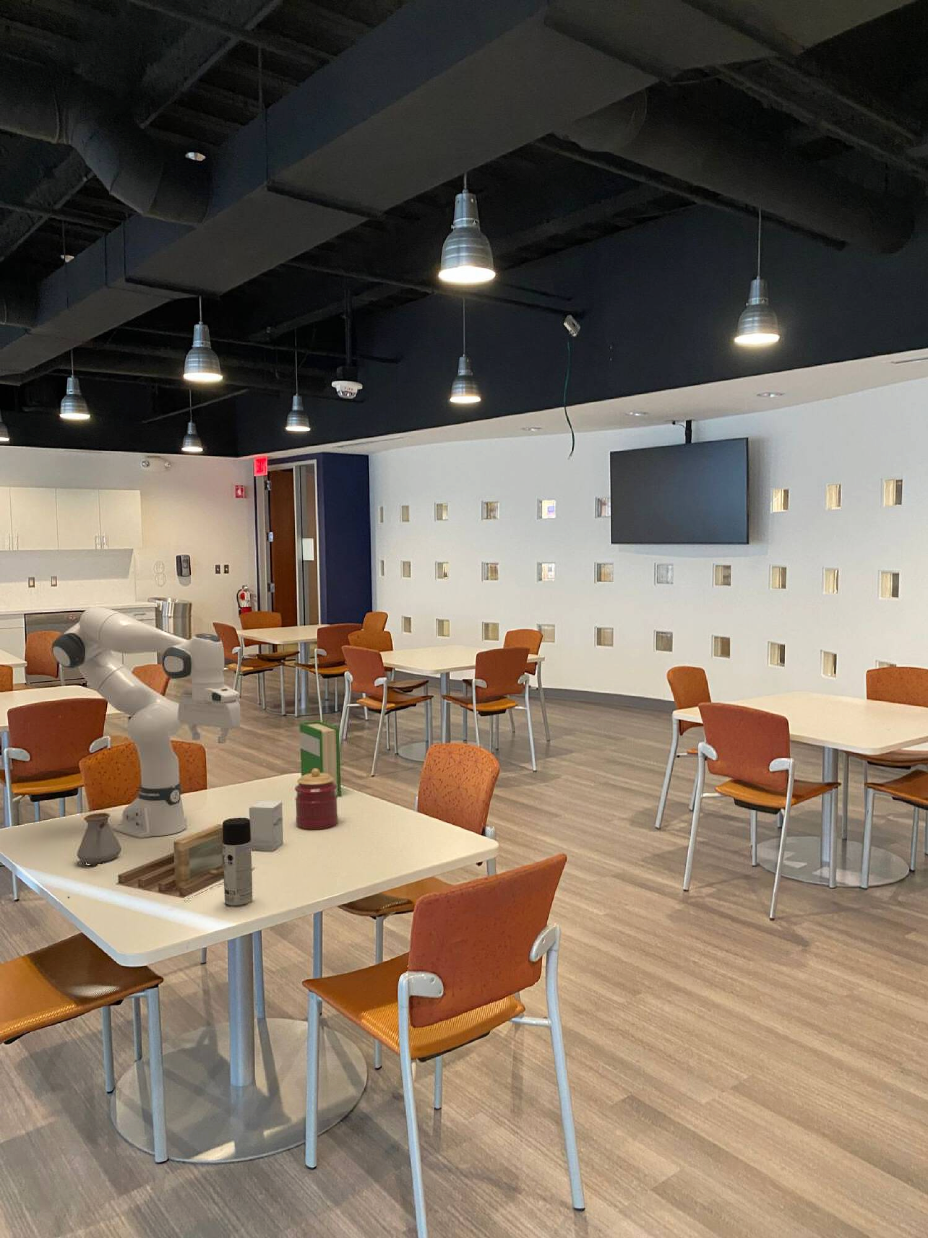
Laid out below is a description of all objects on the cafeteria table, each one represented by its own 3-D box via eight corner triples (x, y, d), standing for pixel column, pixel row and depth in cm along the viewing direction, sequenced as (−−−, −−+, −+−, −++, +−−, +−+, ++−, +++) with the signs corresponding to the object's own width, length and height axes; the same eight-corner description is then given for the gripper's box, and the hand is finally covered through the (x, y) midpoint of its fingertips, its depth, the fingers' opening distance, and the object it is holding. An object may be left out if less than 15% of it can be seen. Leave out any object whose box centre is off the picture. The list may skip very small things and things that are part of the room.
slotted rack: (115, 887, 233) (114, 874, 233) (184, 859, 254) (183, 846, 254) (182, 902, 222) (182, 887, 222) (248, 870, 244) (247, 857, 243)
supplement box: (274, 851, 259) (272, 808, 258) (249, 850, 261) (248, 807, 260) (284, 843, 266) (282, 801, 266) (260, 842, 268) (258, 800, 267)
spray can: (227, 897, 225) (224, 817, 224) (255, 895, 226) (252, 816, 224) (222, 907, 218) (219, 825, 217) (251, 906, 219) (248, 824, 218)
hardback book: (341, 796, 317) (339, 728, 315) (321, 800, 313) (319, 730, 311) (321, 786, 332) (318, 721, 330) (301, 789, 328) (299, 723, 326)
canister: (330, 831, 277) (329, 774, 276) (290, 830, 279) (288, 773, 278) (343, 818, 290) (341, 764, 289) (304, 817, 292) (302, 763, 291)
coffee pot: (75, 859, 256) (73, 806, 255) (119, 852, 262) (116, 800, 260) (82, 882, 237) (79, 826, 236) (128, 874, 243) (126, 819, 242)
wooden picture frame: (175, 888, 229) (173, 841, 228) (220, 868, 243) (218, 824, 242) (184, 890, 227) (182, 843, 226) (228, 870, 241) (226, 825, 241)
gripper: (172, 690, 256) (172, 739, 257) (228, 697, 247) (229, 747, 248) (188, 687, 262) (189, 735, 263) (244, 693, 252) (244, 743, 253)
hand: (208, 741), depth 255 cm, fingers open, 8 cm apart
